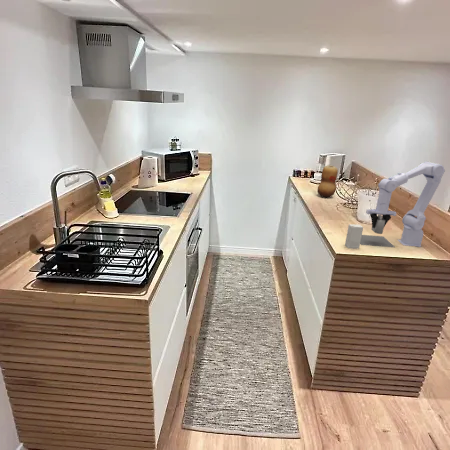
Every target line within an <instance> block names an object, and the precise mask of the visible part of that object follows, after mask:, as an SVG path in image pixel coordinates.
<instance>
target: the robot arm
mask: <svg viewBox="0 0 450 450" xmlns="http://www.w3.org/2000/svg"><path fill="white" fill-rule="evenodd" d="M445 172H446V170H445V167H444V165H443V164H440V163H435V162H431V161H427V160H426V161H425V160H424V162H422V163H420V164H419V165H417V166H416V167H413V168H412V169H410V170H408V171H407V172H400V171H398V172H397V174H395V175H392V176H389V177H388V178H383V179H381V180H380V182H378V185H377V186H378V197H377V202H376V207H375V209H373V208H372V209H366V212H365V214H366V215H370V219H371V228H372V227H373V228H375V225H376V221H377V219H378V215H381V216H383V217H382V218H383V219H384V220H385V225H384V228H385V227H386V225H387V224H388V222H389V221H390V220H391V218H392V216H394V217H396V216H397V212H396V211H394V210H389V206H390V202H391V198H392V195H393V192H395V190H396V188H398V187H400V186H403V185H405V184H407V183H408V182H409V180H411V179H413V178H416V177H418V176H421V175H423V176H424V177H425V179H426V183H425V185H424V187H423V189H422V191H421V192H420V195H419V196H418V198H417V200H416V203H415V204H414V206H413V208H412V209H409V210H407V212H406V213H405V214H404V216H403V217H402V220H401V221H402V224H403V226H402V227H403V229H402V234H401V238H400V239H397V241H398V242H399V243H400V244H401V245H402V246H406V247H407V246H409V247H417V248H421V247H422V243H423V242H422V241H423V237H424V231H423V227H424V226H425V221H426V219H427V218H426V215H425V212H426V210H427V208H428V206H429V205H430V203H431V200H432V199H433V197H434V195H435V193H436V191H437V189H438V188H439V186H440V184H441V181H442V177H443V176H444V174H445Z"/></svg>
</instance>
